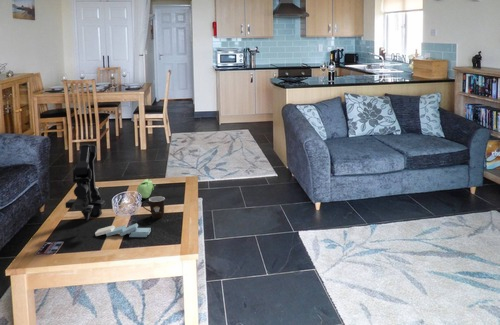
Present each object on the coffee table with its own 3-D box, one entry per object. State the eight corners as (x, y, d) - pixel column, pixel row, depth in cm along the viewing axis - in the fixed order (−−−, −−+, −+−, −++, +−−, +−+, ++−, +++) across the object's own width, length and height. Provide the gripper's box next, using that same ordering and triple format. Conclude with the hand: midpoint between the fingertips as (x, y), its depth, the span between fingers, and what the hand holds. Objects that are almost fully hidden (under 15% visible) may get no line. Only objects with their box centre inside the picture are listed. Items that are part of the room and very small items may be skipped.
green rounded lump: (154, 200, 274) (153, 183, 271) (136, 200, 274) (135, 183, 271) (158, 193, 286) (157, 177, 283) (140, 194, 286) (139, 177, 283)
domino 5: (129, 235, 223) (146, 235, 223) (132, 231, 228) (148, 231, 227) (129, 238, 223) (146, 238, 223) (132, 234, 228) (149, 234, 228)
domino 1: (94, 233, 224) (110, 229, 223) (98, 229, 229) (114, 225, 227) (95, 236, 224) (111, 232, 223) (99, 232, 229) (115, 227, 228)
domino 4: (131, 232, 223) (148, 231, 223) (133, 227, 228) (150, 227, 227) (131, 235, 223) (148, 234, 223) (134, 230, 228) (150, 230, 228)
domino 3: (119, 233, 223) (135, 226, 223) (121, 229, 228) (136, 222, 228) (121, 236, 223) (136, 229, 223) (123, 232, 228) (138, 225, 228)
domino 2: (105, 233, 223) (121, 229, 223) (109, 229, 228) (124, 225, 227) (107, 236, 224) (123, 231, 223) (110, 232, 229) (125, 227, 228)
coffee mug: (168, 214, 252) (167, 197, 249) (160, 219, 244) (159, 202, 241) (150, 211, 256) (149, 195, 253) (142, 217, 248) (140, 200, 245)
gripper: (57, 195, 218) (61, 225, 222) (95, 196, 216) (98, 227, 220) (69, 188, 228) (72, 216, 232) (104, 189, 226) (107, 218, 231)
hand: (87, 219), depth 229 cm, fingers closed
